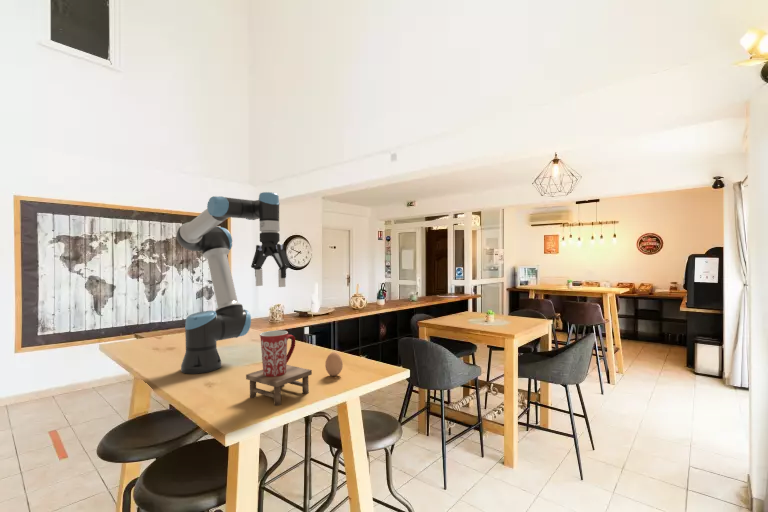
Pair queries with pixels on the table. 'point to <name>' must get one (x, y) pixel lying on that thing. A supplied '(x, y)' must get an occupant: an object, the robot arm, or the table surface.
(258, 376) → the stool
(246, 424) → the table surface
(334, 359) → the egg
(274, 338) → the mug
